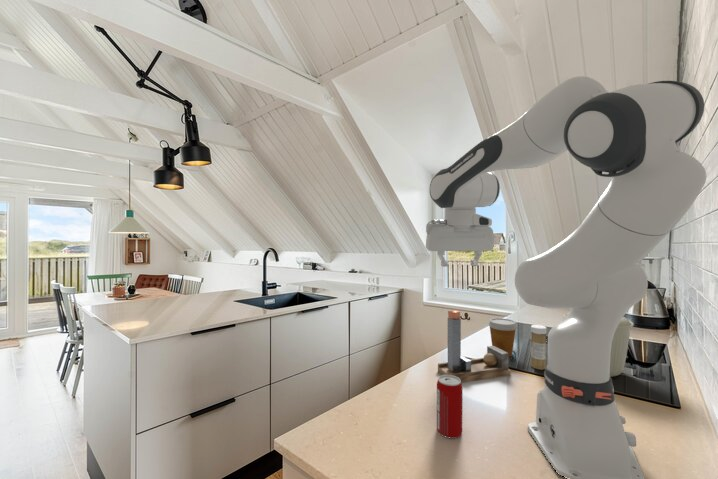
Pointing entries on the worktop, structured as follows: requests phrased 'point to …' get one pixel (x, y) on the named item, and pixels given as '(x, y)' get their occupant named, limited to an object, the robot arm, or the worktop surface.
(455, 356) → the slider
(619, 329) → the canister
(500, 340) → the disposable coffee cup
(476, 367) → the cracker bench
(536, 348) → the sprinkles bottle
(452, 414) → the soda can
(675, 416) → the worktop surface
